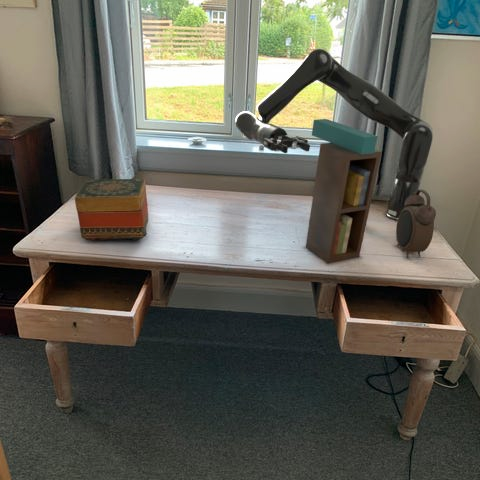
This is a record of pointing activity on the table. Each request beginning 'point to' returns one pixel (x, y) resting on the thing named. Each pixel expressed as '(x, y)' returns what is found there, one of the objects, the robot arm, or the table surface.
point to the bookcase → (341, 202)
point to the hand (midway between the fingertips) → (297, 149)
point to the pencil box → (344, 136)
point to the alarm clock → (415, 224)
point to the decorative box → (112, 209)
